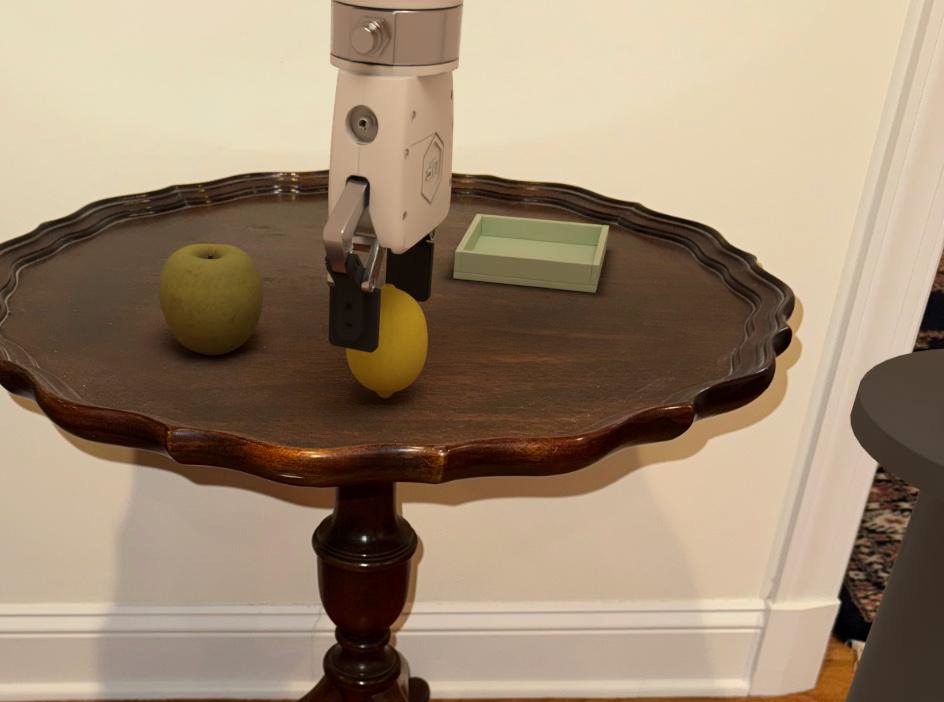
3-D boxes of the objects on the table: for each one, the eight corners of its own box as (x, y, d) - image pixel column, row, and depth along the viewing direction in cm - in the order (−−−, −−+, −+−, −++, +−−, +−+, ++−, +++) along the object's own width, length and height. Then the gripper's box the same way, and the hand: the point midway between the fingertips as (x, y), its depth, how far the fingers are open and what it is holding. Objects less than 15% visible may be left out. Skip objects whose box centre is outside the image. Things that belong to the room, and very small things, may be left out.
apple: (274, 329, 87) (272, 238, 83) (250, 371, 81) (246, 274, 77) (180, 322, 88) (173, 231, 84) (149, 363, 82) (140, 266, 78)
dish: (605, 251, 104) (609, 225, 102) (595, 293, 95) (599, 265, 93) (474, 239, 106) (476, 213, 105) (453, 278, 97) (454, 251, 96)
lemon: (340, 382, 80) (341, 271, 75) (417, 379, 80) (423, 269, 76) (349, 416, 75) (351, 301, 71) (431, 413, 76) (438, 298, 71)
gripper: (403, 68, 57) (387, 381, 67) (501, 22, 70) (475, 289, 80) (270, 54, 59) (273, 358, 69) (388, 11, 72) (377, 272, 82)
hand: (381, 321), depth 75 cm, fingers open, 9 cm apart
